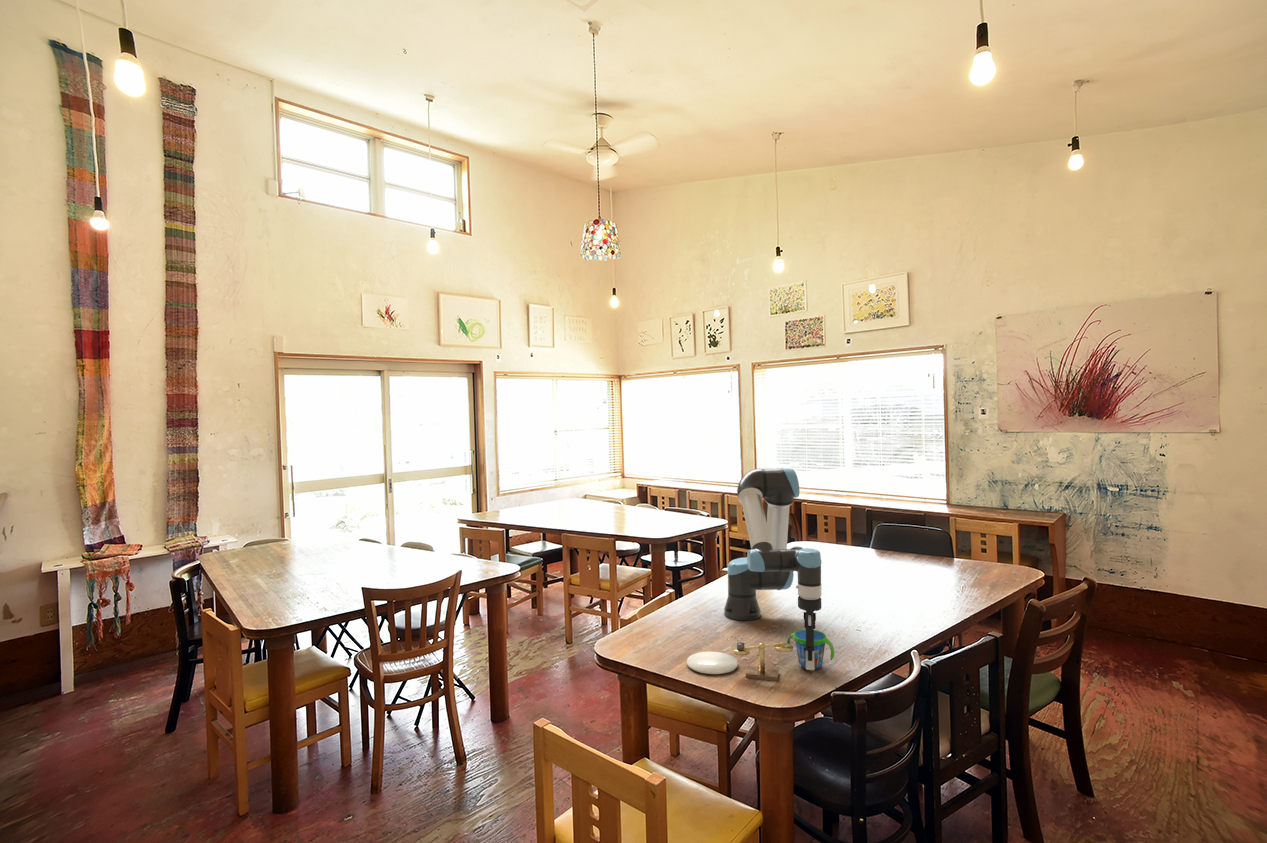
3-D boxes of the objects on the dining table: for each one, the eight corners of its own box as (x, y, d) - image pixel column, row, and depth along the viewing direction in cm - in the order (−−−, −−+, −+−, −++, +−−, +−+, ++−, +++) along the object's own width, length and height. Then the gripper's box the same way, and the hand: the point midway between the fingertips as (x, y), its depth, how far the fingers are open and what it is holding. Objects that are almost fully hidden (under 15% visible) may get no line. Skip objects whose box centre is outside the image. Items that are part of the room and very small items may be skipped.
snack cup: (781, 663, 203) (780, 633, 203) (796, 653, 211) (796, 625, 210) (825, 677, 192) (824, 645, 192) (839, 666, 200) (839, 636, 200)
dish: (692, 652, 215) (692, 649, 215) (740, 657, 210) (740, 654, 210) (682, 672, 199) (682, 668, 199) (734, 678, 194) (734, 674, 194)
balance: (733, 668, 201) (732, 634, 201) (793, 674, 196) (793, 640, 196) (730, 675, 196) (730, 641, 196) (793, 682, 190) (792, 647, 190)
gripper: (798, 586, 213) (799, 649, 213) (796, 606, 191) (797, 676, 192) (821, 587, 210) (821, 651, 211) (821, 608, 189) (822, 678, 190)
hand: (810, 663), depth 201 cm, fingers closed on snack cup, 9 cm apart
